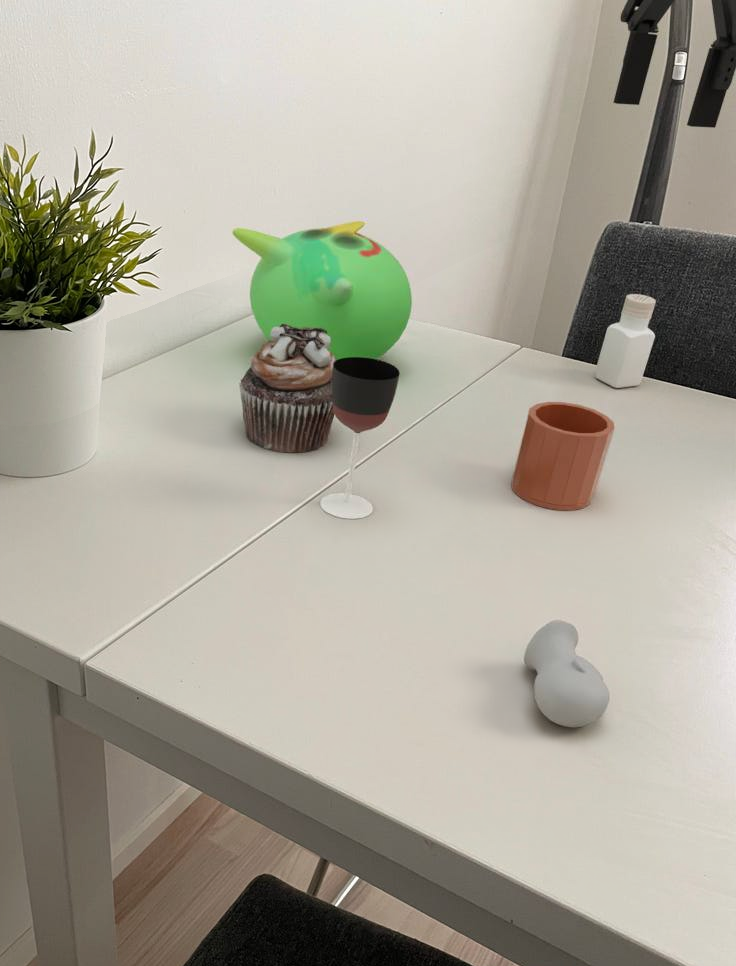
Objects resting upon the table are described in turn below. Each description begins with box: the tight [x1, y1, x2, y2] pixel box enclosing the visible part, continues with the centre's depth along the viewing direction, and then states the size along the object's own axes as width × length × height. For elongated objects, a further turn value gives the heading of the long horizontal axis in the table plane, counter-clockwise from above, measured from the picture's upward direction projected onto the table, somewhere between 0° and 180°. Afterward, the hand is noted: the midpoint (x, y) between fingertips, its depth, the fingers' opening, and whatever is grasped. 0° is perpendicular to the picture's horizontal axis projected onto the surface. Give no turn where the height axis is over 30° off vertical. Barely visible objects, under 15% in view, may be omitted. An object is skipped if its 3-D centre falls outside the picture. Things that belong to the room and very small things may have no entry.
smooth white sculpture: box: [523, 619, 610, 728], centre depth 64 cm, size 4×8×5 cm
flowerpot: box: [510, 401, 615, 511], centre depth 88 cm, size 7×7×7 cm
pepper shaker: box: [594, 293, 657, 389], centre depth 111 cm, size 4×4×10 cm
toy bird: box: [232, 221, 413, 360], centre depth 108 cm, size 18×17×15 cm
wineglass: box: [319, 357, 401, 520], centre depth 81 cm, size 5×5×12 cm
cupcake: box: [238, 324, 337, 454], centre depth 92 cm, size 10×10×10 cm
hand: (661, 115), depth 102 cm, fingers open, 13 cm apart
